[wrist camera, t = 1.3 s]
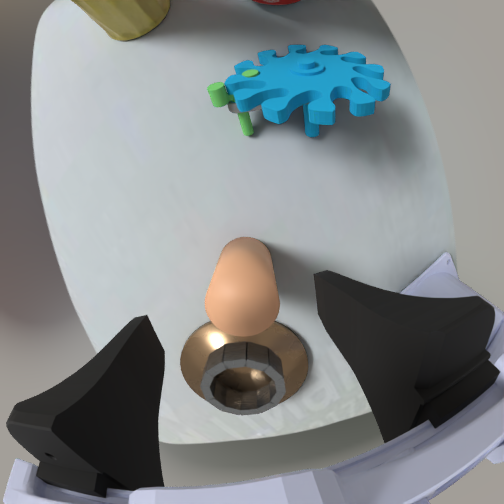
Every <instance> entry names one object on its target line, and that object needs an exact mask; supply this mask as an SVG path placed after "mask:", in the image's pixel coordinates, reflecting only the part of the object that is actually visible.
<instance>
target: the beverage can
mask: <svg viewBox="0 0 504 504" xmlns="http://www.w3.org/2000/svg"><path fill="white" fill-rule="evenodd" d="M252 1H255V2H258V3H262V4H268V5H286V4H291V3H295V2H298V1H300V0H252Z"/></svg>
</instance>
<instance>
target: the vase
mask: <svg viewBox="0 0 504 504" xmlns="http://www.w3.org/2000/svg"><path fill="white" fill-rule="evenodd" d="M71 1H73V2H74V3H75V4H77V5H78V6H79V7H80V8H81V9H82V10H83V11H84V12H85V13H86V14H87V15H88V16H89V17H90V18H91V19H93V20H94V21H95V22H96V23H97V24H98V25H99V26H100V27H102V28H103V29H104V30H105V31H106V33H107V34H108V35H109V36H110V37H111V38H113V39H115V40H123V41H124V40H131V39H135V38H138V37H140V36H142V35H144V34H146V33H148V32H149V31H151V30H152V29H154V28H155V27H156V26H157V25H158V24H159V23H160V22H161V21H162V20H163V19H164V18H165V16H166V15H167V13H168V10H169V7H170V0H71Z"/></svg>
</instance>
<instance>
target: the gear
mask: <svg viewBox="0 0 504 504" xmlns="http://www.w3.org/2000/svg"><path fill="white" fill-rule="evenodd" d="M288 50H289V54H287V55H286V56H284V57H280V58H277V55H276V51H275V50H267V51H262V52H259V53H258V57H259V61H260V64H262V65H263V66H254V64H253V61H250V60H246V61H243V62H241V63H239V64H237V65H235V66H234V68H235V71H236V75H231V76H230V77H228V78H227V80H226V81H225V83H222V82H217V83H214V84H211V85H210V86H208V88H207V90H208V92H209V95H210V98H211V100H212V103H213V106H214V107H222V106H225V105H226V104H227V105H228V108H229V111H230V112H232V113H237V114H238V117H239V120H240V124H241V127H242V130H243V133H244V135H245V136H250V135H252V134H253V133H254V131H253V127H252V123H251V119H250V116H249V111H255V110H262V111H263V115H264V118H265V119H267V120H269V121H271V122H274V123H277V124H282V123H284V122H286V121H287V120H288V119H289V116H290V114H291V113H292V112H293V111H294V110H295V109H296V108H298V107H300V106H302V105H303V113H304V123H305V134H306V135H307V136H309V137H316V136H318V135H319V124H321V125H333V124H334V123H335V105H334V104H333V103H332V102H333V101H334V100H335V99H337V98H345V99H348V100H350V112H351V113H352V114H353V115H354V116H367V115H371V114H374V109H375V100H377V101H384V100H386V99H387V98H388V96H389V93H390V85H391V84H390V83H389V82H387V81H384V80H383V76H384V69H383V67H382V66H380V65H376V64H366V57H365V56H364V55H362V54H360V53H359V52H349V53H347V54H342V55H338V48H337V47H334V46H329V45H322V46H320V48H319V49H318V50H316V51H313V52H310V53H307V52H306V46H305V45H289V46H288ZM224 84H225V86H224ZM225 87H226V89H225ZM358 88H359V89H363V90H365V91H367V92H368V94H366V93H364V92H362V91H361V90H359V89H358ZM226 90H227V92H226Z"/></svg>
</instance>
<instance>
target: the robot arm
mask: <svg viewBox="0 0 504 504" xmlns="http://www.w3.org/2000/svg"><path fill="white" fill-rule="evenodd" d="M447 261H448V263H447ZM314 280H315V289H316V298H317V308H318V315H319V317H320V319H321V321H322V323H323V325H324V327H325V329H326V331H327V333H328V334H329V336H330V337H331V339H332V340H333V342H334V343H335V345H336V346H337V348H338V349H339V351H340V352H341V354H342V355H343V356H344V358H345V359H346V361H347V362H348V364H349V365H350V367H351V369H352V370H353V372H354V374H355V375H356V377H357V379H358V381H359V383H360V385H361V387H362V389H363V392H364V394H365V396H366V398H367V400H368V402H369V405H370V407H371V409H372V412H373V414H374V416H375V419H376V421H377V424H378V426H379V429H380V432H381V434H382V437H383V440H384V443H385V444H383V445H381V446H378V447H376V448H374V449H372V450H370V451H367V452H365V453H363V454H360V455H358V456H355V457H353V458H351V459H348V460H345V461H342V462H340V463H337V464H334V465H331V466H328V467H326V468H322V469H305V470H299V471H295V472H288V473H282V474H277V475H273V476H268V477H263V478H259V479H252V480H247V481H240V482H233V483H225V484H217V485H205V486H189V487H164V482H163V477H162V470H161V462H160V453H159V438H158V416H159V406H160V399H161V392H162V385H163V378H164V370H165V351H164V349H163V347H162V345H161V343H160V341H159V339H158V337H157V335H156V333H155V331H154V329H153V327H152V324H151V322H150V320H149V318H148V316H147V315H145V316H140V317H135V318H134V319H132V320H131V321H130V322H129V323H128V324H127V325H126V326H125V327H124V328H123V329H122V330H121V331H120V332H119V333H118V334H117V335H116V336H115V337H114V338H113V339H112V340H111V341H110V342H109V343H108V344H107V345H106V346H105V347H104V348H103V349H102V350H101V351H100V352H99V353H98V354H97V355H96V356H95V357H94V358H93V359H91V360H90V361H89V362H88V363H87V364H86V365H84V366H83V367H82V368H81V369H79V370H78V371H77V372H75V373H74V374H73V375H71V376H70V377H68V378H67V379H65V380H64V381H62V382H61V383H59V384H58V385H56V386H54V387H53V388H51V389H49V390H47V391H45V392H43V393H41V394H39V395H37V396H34V397H32V398H29V399H27V400H24V401H22V402H19V403H17V404H16V405H15V406H14V408H13V410H12V412H11V414H10V416H9V418H8V420H7V422H6V424H7V428H8V430H9V432H10V434H11V435H12V436H13V437H14V439H15V440H17V442H18V443H19V444H20V445H22V446H23V447H24V448H25V449H26V450H27V451H28V452H29V453H31V454H32V455H33V456H34V457H35V458H37V459H38V460H39V461H40V463H39V467H38V466H36V465H34V464H32V463H30V462H27V461H24V460H21V459H18V458H16V459H15V462H14V465H13V468H12V471H11V474H10V477H9V480H8V484H7V488H6V491H5V495H4V499H3V502H4V503H5V504H430V503H429V500H430V499H432V498H434V497H435V496H437V495H438V494H439V493H441V492H443V491H444V490H445V489H447V488H448V487H450V486H451V485H452V484H454V483H455V482H456V481H458V480H459V479H460V478H462V477H463V476H464V475H466V474H467V473H468V472H469V471H470V470H472V469H473V468H474V467H475V466H476V465H478V464H479V463H480V462H481V461H482V460H483V459H484V458H487V459H488V460H490V461H491V462H492V463H493V464H497V463H501V462H504V312H503V311H501V310H500V309H499V308H498V307H496V306H495V305H494V304H492V303H491V302H490V301H488V300H487V299H485V298H484V297H483V296H481V295H480V294H479V293H477V292H476V291H474V290H473V289H471V288H470V287H469V286H467V285H466V284H464V283H463V282H461V281H460V280H459V278H458V275H457V272H456V269H455V266H454V263H453V260H452V258H451V255H450V253H448V252H445V253H443V254H442V255H441V256H440V257H439V258H438V259H437V260H436V261H435V262H434V263H433V264H432V265H431V266H430V267H429V268H428V269H427V270H425V271H424V272H423V273H422V274H421V275H420V276H419V277H418V278H417V279H415V280H414V281H413V282H412V283H411V284H410V285H409V286H407V287H406V288H405V289H404V290H403V291H402V292H400V293H395V292H391V291H387V290H383V289H380V288H376V287H373V286H370V285H367V284H364V283H361V282H358V281H356V280H353V279H350V278H348V277H345V276H343V275H340V274H337V273H335V272H332V271H328V270H326V271H323V272H319V273H316V274H314Z"/></svg>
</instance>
